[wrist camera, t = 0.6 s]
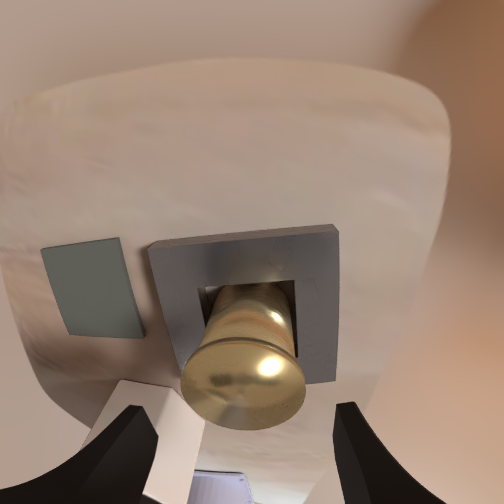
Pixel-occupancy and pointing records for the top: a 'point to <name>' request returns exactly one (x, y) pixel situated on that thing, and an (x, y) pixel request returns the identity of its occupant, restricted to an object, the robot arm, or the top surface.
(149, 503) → the jar
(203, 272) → the housing
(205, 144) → the top surface
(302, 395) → the gold rounded piece
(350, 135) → the top surface
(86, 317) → the mat
